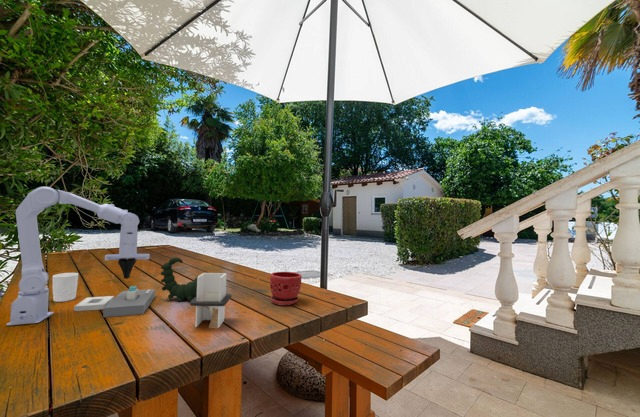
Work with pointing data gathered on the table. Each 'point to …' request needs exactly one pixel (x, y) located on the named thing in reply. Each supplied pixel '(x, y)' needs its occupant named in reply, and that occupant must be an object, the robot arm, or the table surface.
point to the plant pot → (285, 287)
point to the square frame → (93, 303)
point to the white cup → (64, 286)
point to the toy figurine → (174, 288)
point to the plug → (132, 293)
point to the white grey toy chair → (211, 298)
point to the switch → (129, 304)
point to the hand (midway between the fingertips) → (126, 278)
